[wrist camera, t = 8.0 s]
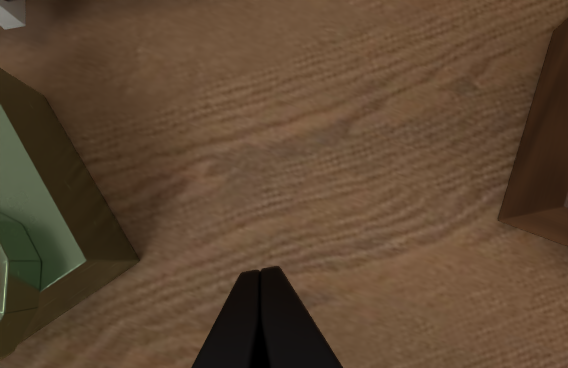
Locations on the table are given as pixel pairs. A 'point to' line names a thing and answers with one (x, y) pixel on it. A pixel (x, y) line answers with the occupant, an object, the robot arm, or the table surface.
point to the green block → (48, 220)
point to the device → (12, 13)
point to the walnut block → (544, 153)
